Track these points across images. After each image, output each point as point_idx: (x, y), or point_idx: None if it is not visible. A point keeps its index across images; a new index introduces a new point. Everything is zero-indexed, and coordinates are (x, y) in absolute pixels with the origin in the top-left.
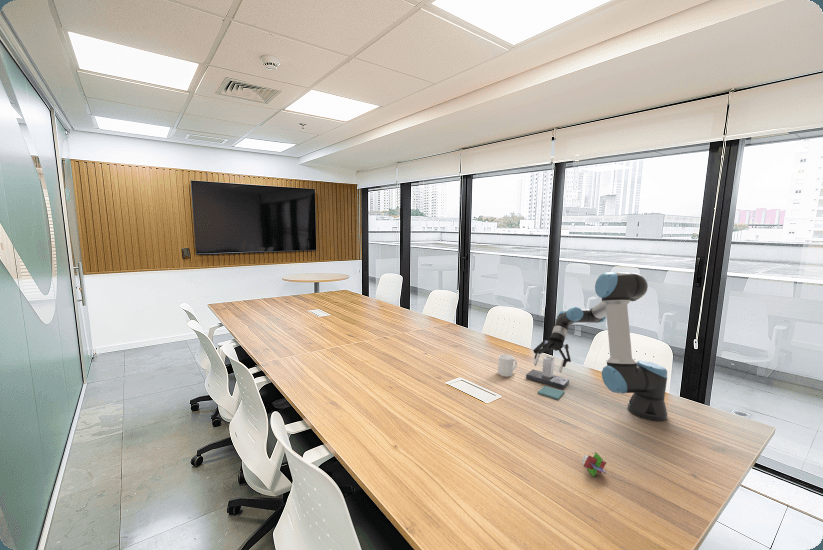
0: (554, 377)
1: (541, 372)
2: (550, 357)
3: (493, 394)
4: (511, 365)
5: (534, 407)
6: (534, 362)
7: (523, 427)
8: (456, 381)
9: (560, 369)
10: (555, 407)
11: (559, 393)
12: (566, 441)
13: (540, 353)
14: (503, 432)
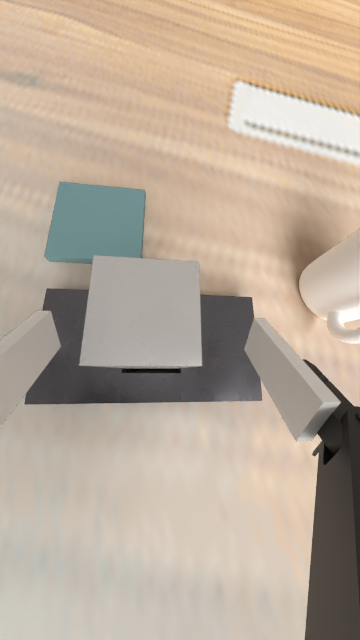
0: None
1: (203, 385)
2: (138, 358)
3: (252, 125)
4: (345, 248)
5: (121, 111)
6: (266, 322)
7: (113, 28)
8: None
9: (35, 313)
10: (61, 139)
11: (61, 223)
12: (6, 16)
13: (322, 470)
14: (142, 4)
